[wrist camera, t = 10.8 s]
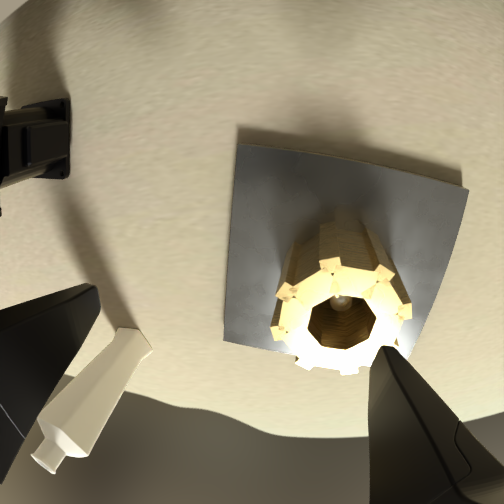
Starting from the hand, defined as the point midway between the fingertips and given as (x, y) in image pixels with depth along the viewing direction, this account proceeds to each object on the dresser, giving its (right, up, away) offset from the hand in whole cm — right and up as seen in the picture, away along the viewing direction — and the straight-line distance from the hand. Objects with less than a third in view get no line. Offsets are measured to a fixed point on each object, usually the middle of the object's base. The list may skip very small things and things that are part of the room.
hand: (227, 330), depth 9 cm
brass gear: (+6, +1, +10) cm, 12 cm away
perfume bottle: (-10, -6, +18) cm, 22 cm away
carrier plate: (+6, +1, +11) cm, 13 cm away
